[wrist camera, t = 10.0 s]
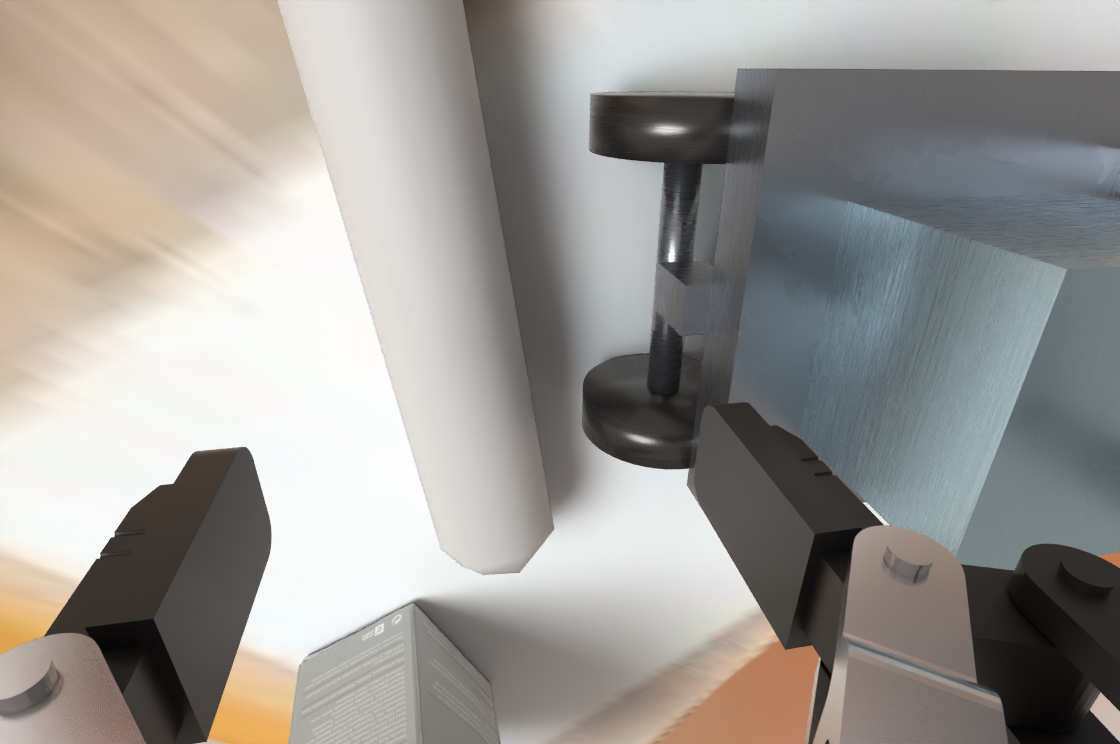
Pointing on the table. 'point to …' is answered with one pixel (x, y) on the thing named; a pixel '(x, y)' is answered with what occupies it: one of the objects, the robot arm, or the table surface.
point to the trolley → (892, 292)
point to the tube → (430, 259)
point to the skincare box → (393, 689)
